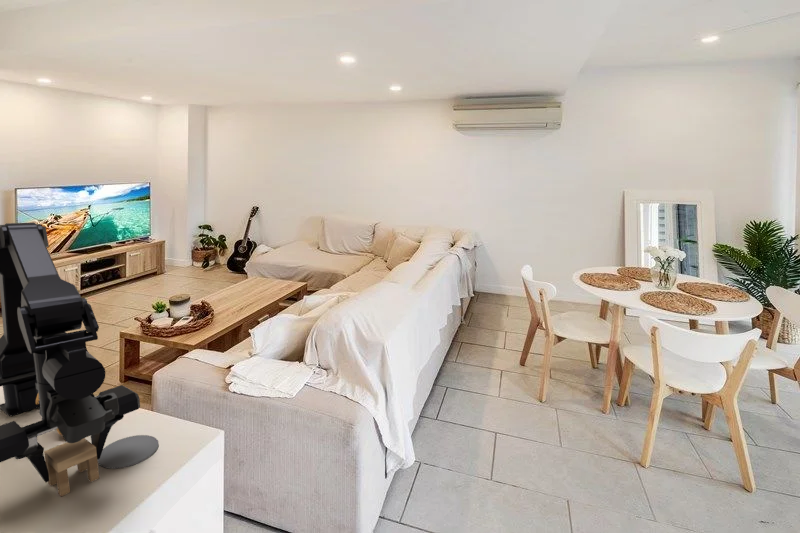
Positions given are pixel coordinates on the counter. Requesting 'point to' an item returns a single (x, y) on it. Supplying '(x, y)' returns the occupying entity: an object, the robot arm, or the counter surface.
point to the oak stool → (71, 463)
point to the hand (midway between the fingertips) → (72, 469)
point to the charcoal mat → (128, 451)
